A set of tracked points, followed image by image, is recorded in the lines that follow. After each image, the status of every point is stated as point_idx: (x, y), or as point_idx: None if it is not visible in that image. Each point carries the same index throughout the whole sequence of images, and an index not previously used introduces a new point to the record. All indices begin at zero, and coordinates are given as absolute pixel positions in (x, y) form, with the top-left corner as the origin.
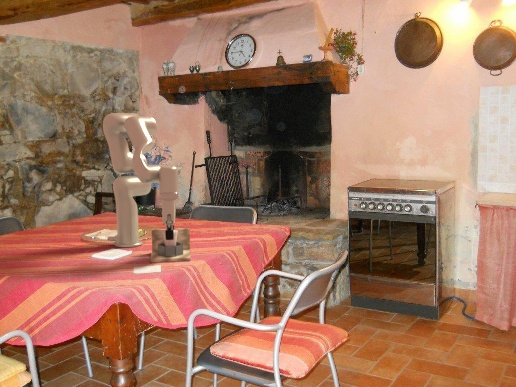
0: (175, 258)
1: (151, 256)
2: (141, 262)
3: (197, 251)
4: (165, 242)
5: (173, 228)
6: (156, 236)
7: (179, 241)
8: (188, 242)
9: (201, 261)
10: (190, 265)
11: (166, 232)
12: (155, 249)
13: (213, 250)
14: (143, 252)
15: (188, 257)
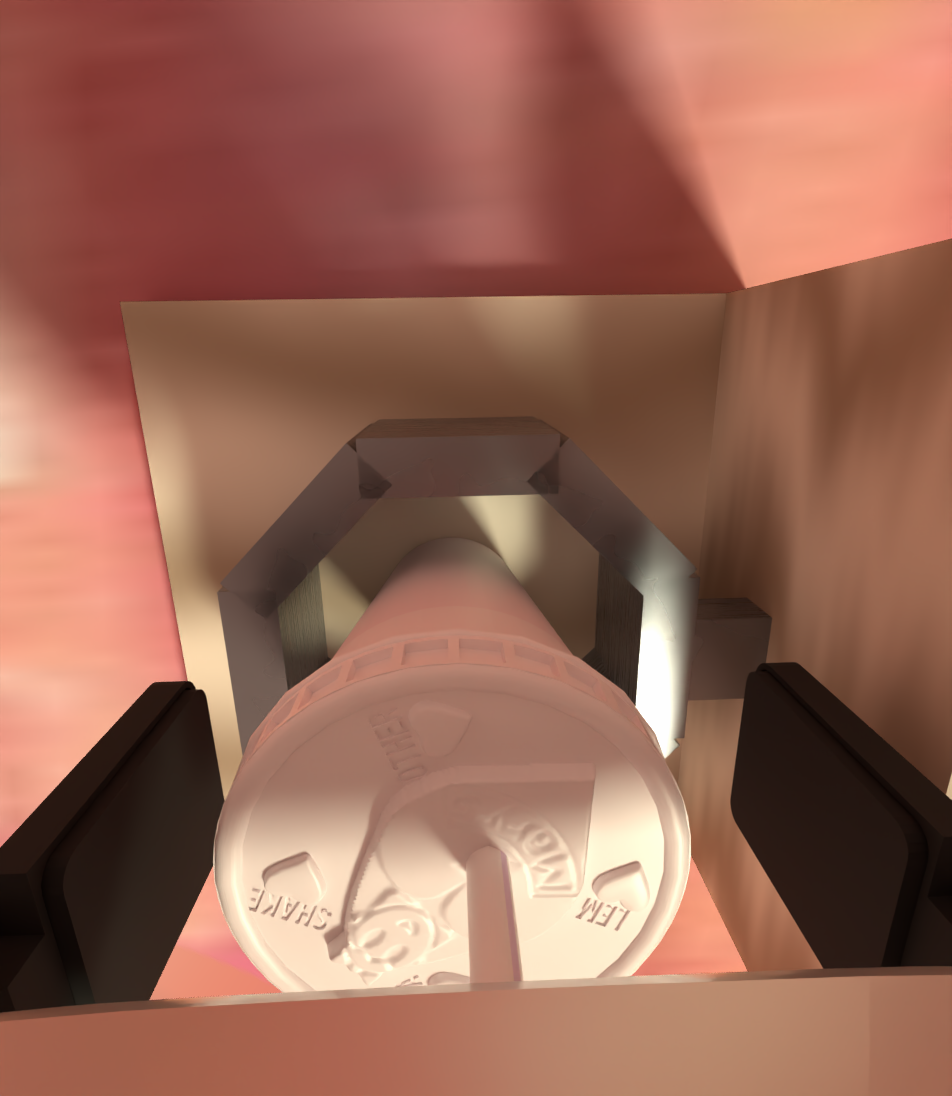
0: (186, 673)
1: (317, 311)
2: (141, 154)
3: None
4: (369, 612)
5: (812, 942)
6: (882, 383)
7: None
8: (714, 881)
9: (193, 914)
10: (8, 820)
11: (45, 839)
12: (729, 350)
13: None
14: (829, 127)
15: None
